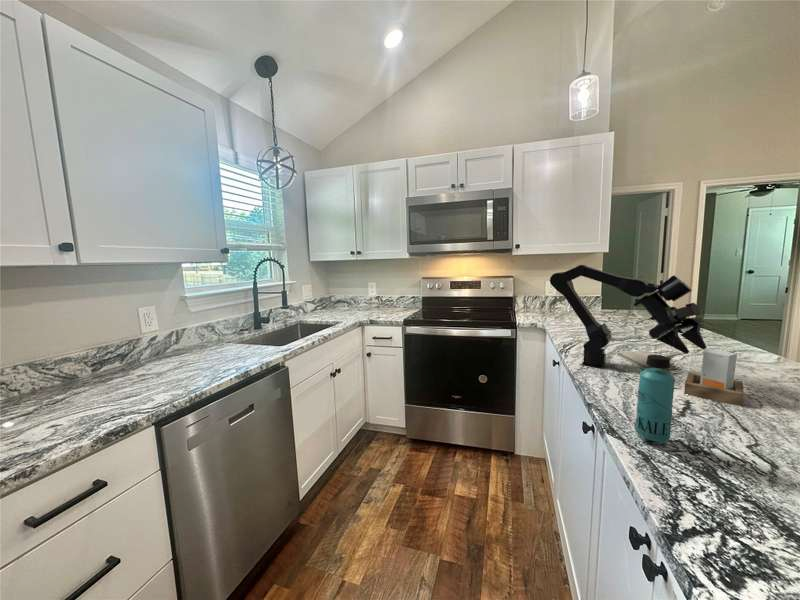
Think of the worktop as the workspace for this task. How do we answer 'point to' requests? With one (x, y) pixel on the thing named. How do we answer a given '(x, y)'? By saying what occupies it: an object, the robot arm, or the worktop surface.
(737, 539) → the worktop surface
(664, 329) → the robot arm
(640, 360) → the washcloth
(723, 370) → the skincare box
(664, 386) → the beverage bottle
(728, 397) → the walnut holder
